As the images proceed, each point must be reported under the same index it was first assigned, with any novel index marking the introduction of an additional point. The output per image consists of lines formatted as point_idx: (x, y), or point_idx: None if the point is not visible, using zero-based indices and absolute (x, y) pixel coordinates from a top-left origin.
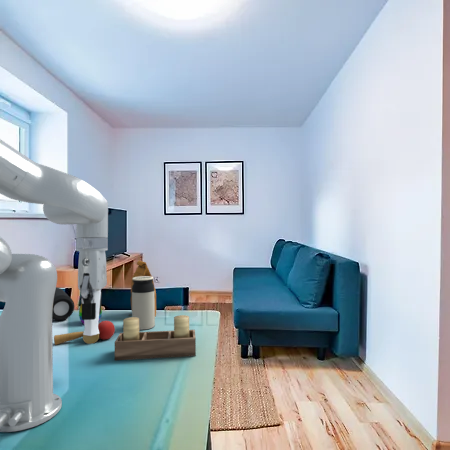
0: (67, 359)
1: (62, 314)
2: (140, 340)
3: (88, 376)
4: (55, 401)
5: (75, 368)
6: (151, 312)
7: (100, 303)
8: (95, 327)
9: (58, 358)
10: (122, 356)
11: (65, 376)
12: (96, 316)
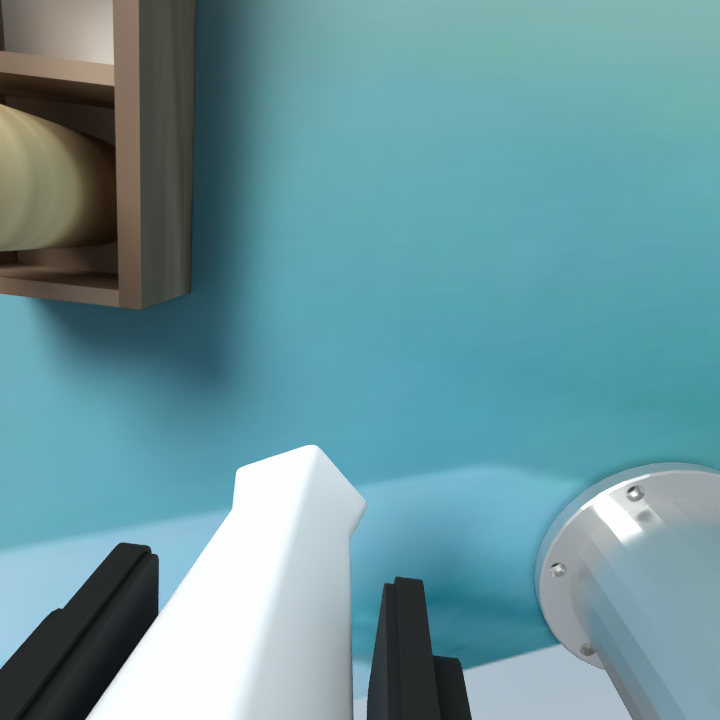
0: (137, 533)
1: None
2: (127, 96)
3: (376, 403)
4: (655, 494)
5: None
6: None
7: (54, 664)
8: (321, 506)
9: None
10: (183, 247)
11: None
12: (305, 574)
